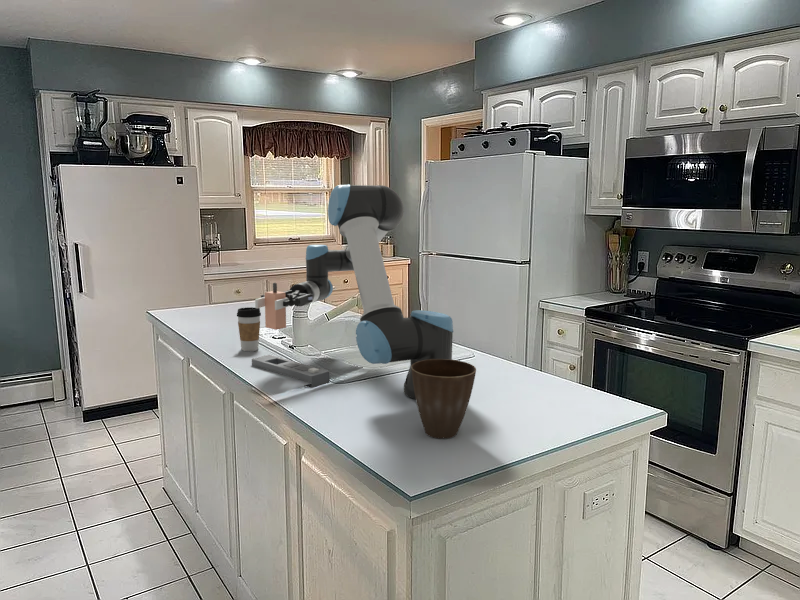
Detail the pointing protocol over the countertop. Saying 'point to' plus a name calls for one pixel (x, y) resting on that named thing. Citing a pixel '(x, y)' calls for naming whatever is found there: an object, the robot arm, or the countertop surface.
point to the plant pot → (442, 394)
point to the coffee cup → (249, 328)
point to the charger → (272, 316)
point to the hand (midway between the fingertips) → (266, 304)
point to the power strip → (293, 370)
